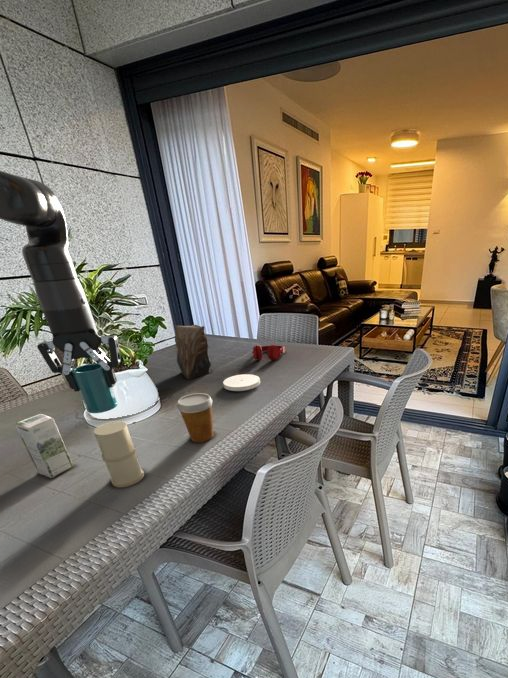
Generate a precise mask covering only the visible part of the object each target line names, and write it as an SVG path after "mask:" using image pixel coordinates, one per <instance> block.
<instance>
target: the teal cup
mask: <svg viewBox="0 0 508 678" xmlns="http://www.w3.org/2000/svg"><path fill="white" fill-rule="evenodd" d="M72 373H73V376H74V379H75V381H76V384H77V386H78V389H79V391H78V392H79V394H80V397H81V399H82V402H83V405H84V406H85V410H86V411H87V413H89V414H103V413H106V412H108V411H111V410H113V409H114V410H115V408H116V407H118V402H117V399H116V395H115V393H114V389H113V387H109V386H108V383H107V380H106V377H105V374H104V369H103V368H102V367H101V366H100V364H99V363H89V364H83V365H80V366H76V367H74V369H73V370H72Z"/></svg>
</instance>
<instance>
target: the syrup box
mask: <svg viewBox="0 0 508 678" xmlns="http://www.w3.org/2000/svg"><path fill="white" fill-rule="evenodd" d="M14 426H15V428H16V431H17V433H18V435H19V436H20V439H21V440H22V442H23V443H22V444H23V445H24V447H25V449H26V451H27V453H28V455H29V457H30V459H31V461H32V463H33V465H34V467H35V470H36V471H37V473H38V474H39V475H42V476H45V477H47V478H49V479H53V478H55V477H57V476H58V475H59V476H60V475H61V474H62V473H64V472H66V471H68V470H70V469H72V468H74V464H73V461H72V459H71V456H70V454H69V451H68V449H67V448H66V445H65V443H64V441H63V438H62V435H61V433H60V431H59V427H58V425H57V424H56V421H55V419H54V417H53V418H52V417H51V416H48V415H46V414H42V413H38V414H35V415H34V416H30V417H28V418H25V419H23V420H19V421H17V422H15V423H14Z"/></svg>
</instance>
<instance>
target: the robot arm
mask: <svg viewBox="0 0 508 678" xmlns="http://www.w3.org/2000/svg"><path fill="white" fill-rule="evenodd" d="M0 220H1V221H5V222H8V223H11V224H13V225H14V224H15V225H19V226H23V227H25V231H26V235H27V240H28V242H27V243H26V244H25V245H23V247H22V249H21V253H22V257H23V260H24V262H25V265H26V268H27V270H28V273H29V276H30V278H31V280H32V283H33V286H34V291H35V295H36V298H37V301H38V305H39V306H40V308H41V311H42V313H43V316H44V318H45V321H46V323H47V325H48V328H49V331H50V333H51V334H52V340H49V341H47V340H44V341H41V342H40V343H39V344H37V345H36V348H37V350H38V351H39V353H40V355H41V356H42V359H44V361H45V363H46V365H47V366H48V368H49V369H50V371H51V372H52V373H53V374H63V375H64V376H65V378H66V381H67V384H68V386H69V388H70V389H71V390H73V391H74V392H79V389H78V386H77V384H76V381H75V379H74V376H73V373H72V370H73V369H74V368H75V362H76V360H80V359H92V360H93V361H94V362H96V364H100V366H101V367H102V368H103V369H104V374H105V377H106V380H107V383H108V386H109V387H112V388H114V387H115V385H116V383H117V381H118V379H117V376H116V373H115V370H114V368H115V367H118V366H119V365H120V363H121V362H122V358H121V351H120V345H119V338H118V335H116V334H112V335H102V334H101V333H100V332H99V331H98V329H97V325H96V323H95V319H94V317H93V313H92V310H91V307H90V304H89V301H88V297H87V295H86V293H85V290H84V287H83V285H82V283H81V281H80V279H79V276H78V273H77V270H76V267H75V265H74V261H73V258H72V255H71V253H70V245H69V244H70V243H69V234H68V229H67V228H68V227H67V220H66V215H65V212H64V208H63V207H62V204H61V202H60V200H59V198H58V197H57V195H56V194H55V193H54V191H53V190H52V189H51V188H50V187H48V186H47V185H46V184H44V183H43V182H41V181H39V180H35V179H32V178H28V177H24V176H20V175H16V174H13V173H10V172H5V171H3V170H0ZM102 343H104V345H105V347H106V348H109V349H108V350H109V355H110V356H109V357H110V359H109V358H108V357H107V356H106V353H105V352H104V351H103V350H102V349H101V348H100V347H101V344H102ZM55 347H56V348H57V349H58V350H60V351H61V352H62V353H63V359H62V363H61V361H60V359H59V357H58V356H57V354H56V352H55V351H56V348H55Z"/></svg>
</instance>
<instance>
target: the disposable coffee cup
mask: <svg viewBox="0 0 508 678" xmlns="http://www.w3.org/2000/svg"><path fill="white" fill-rule="evenodd" d="M213 402H214V401H213V398H211V396H210V394H208V393H204V392H200V393H199V392H195V393H189V394H187V395H184V396H182V397H180V398H178V400H177V405H176V408H177V410H178V411H179V412H180V415H181V418H182V420H183V422H184V424H185V428H186V429H187V432H188V435H189V437H190V439H191V441H192V442H194V443H203V442H208V441H209V440H211V439H212V438H213V437H214V421H213Z"/></svg>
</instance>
